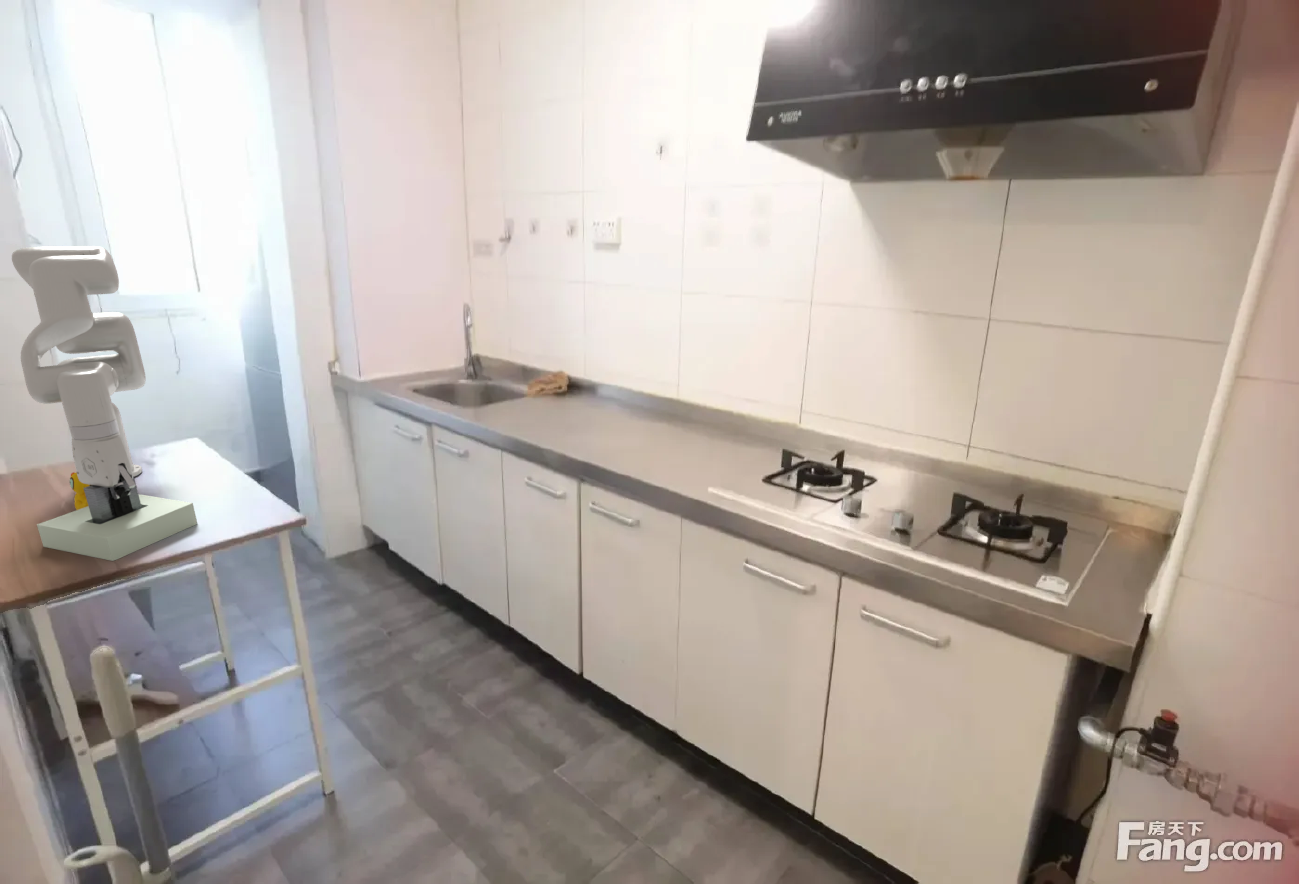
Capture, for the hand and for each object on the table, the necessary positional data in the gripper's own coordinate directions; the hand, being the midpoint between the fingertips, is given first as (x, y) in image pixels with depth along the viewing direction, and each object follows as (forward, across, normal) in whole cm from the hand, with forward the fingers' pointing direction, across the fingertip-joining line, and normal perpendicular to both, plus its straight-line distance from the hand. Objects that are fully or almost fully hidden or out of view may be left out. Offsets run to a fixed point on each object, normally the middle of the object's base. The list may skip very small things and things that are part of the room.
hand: (117, 512), depth 140 cm
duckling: (+5, -18, +6) cm, 20 cm away
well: (+5, 0, 0) cm, 5 cm away
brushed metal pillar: (+5, 0, 0) cm, 5 cm away
